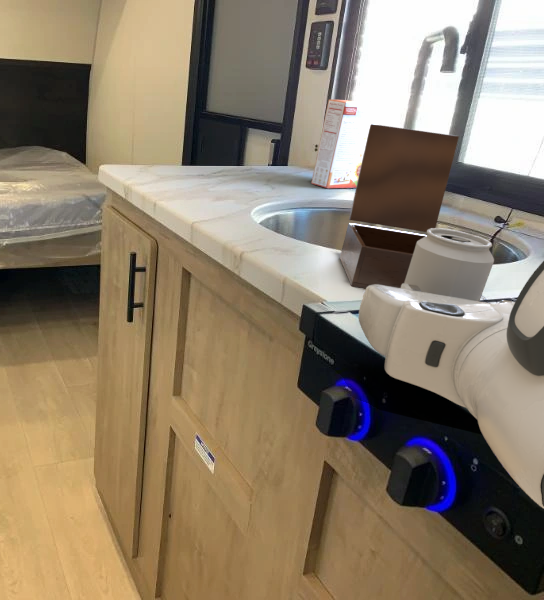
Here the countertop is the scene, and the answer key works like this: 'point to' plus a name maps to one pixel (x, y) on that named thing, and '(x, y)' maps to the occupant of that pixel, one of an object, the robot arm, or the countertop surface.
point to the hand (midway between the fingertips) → (455, 299)
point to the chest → (377, 255)
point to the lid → (403, 177)
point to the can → (451, 264)
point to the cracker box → (344, 142)
